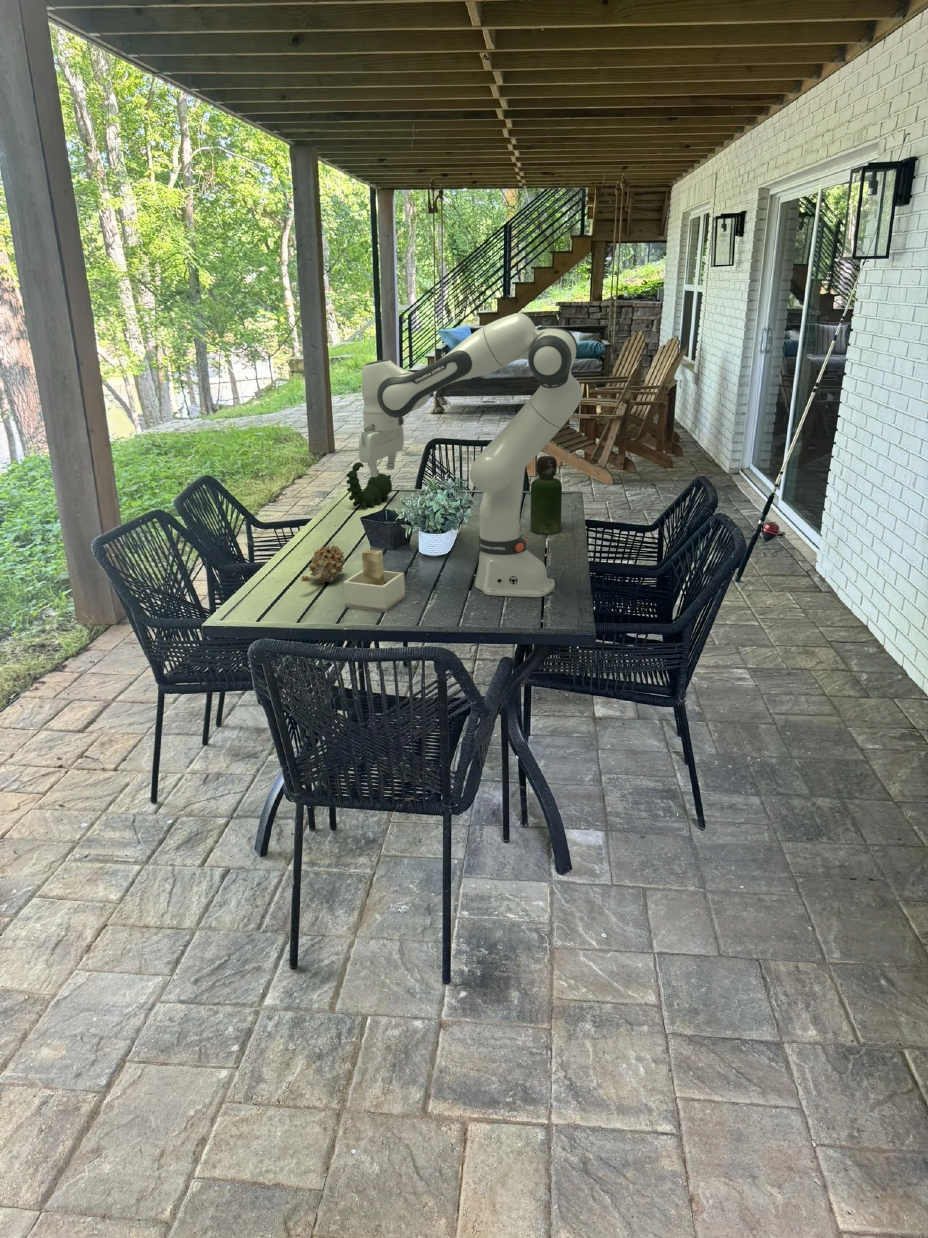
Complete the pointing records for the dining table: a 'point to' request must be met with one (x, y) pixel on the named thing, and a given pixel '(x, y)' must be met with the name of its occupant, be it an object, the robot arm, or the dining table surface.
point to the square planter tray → (374, 592)
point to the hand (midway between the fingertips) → (382, 472)
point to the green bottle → (546, 498)
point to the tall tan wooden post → (373, 567)
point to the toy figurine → (368, 488)
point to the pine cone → (326, 564)
